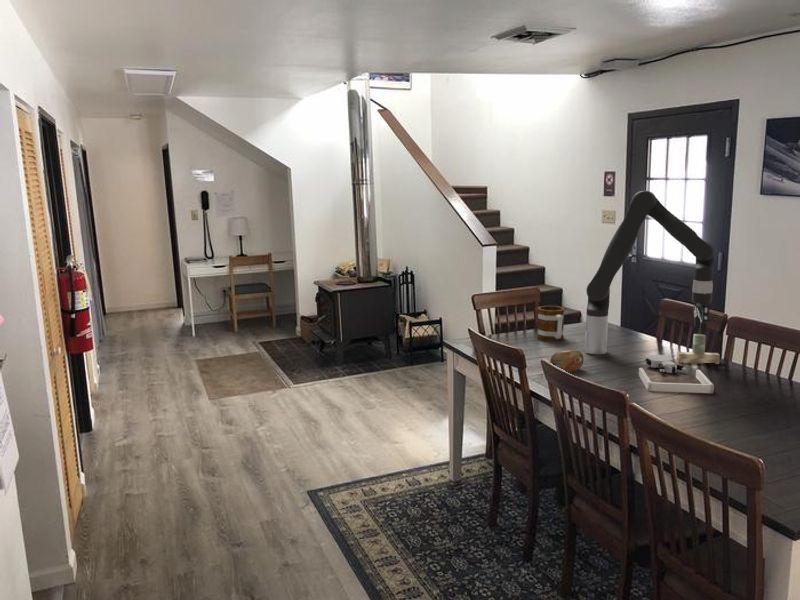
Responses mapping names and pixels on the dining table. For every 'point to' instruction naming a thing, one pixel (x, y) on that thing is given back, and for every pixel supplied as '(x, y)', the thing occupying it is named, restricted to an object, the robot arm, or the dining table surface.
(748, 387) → the dining table surface
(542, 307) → the mug
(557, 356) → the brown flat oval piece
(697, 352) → the scraper
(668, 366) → the robot toy
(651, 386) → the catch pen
